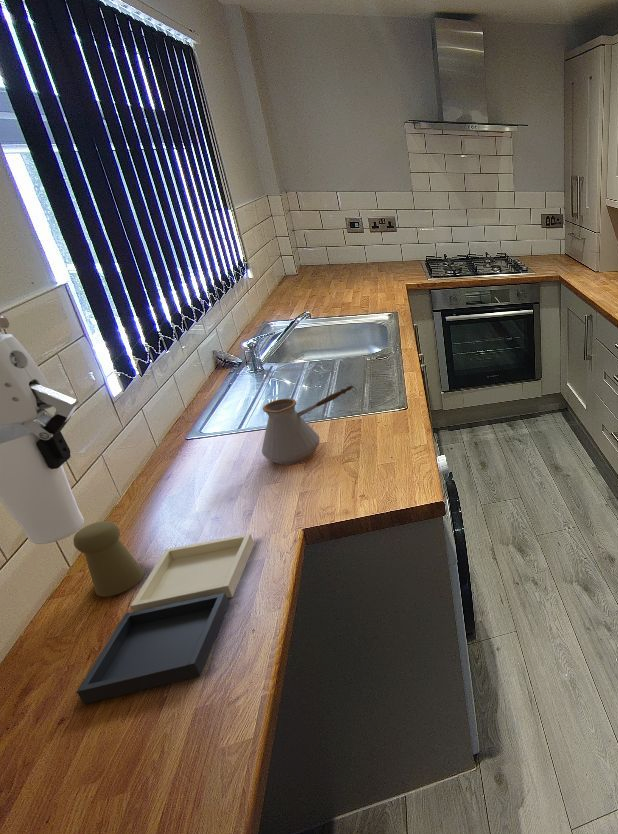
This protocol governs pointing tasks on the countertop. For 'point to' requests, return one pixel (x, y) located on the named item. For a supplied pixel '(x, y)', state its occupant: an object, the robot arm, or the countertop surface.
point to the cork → (107, 559)
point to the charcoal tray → (156, 648)
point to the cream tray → (195, 572)
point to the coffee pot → (291, 431)
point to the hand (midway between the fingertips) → (23, 467)
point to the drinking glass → (35, 489)
